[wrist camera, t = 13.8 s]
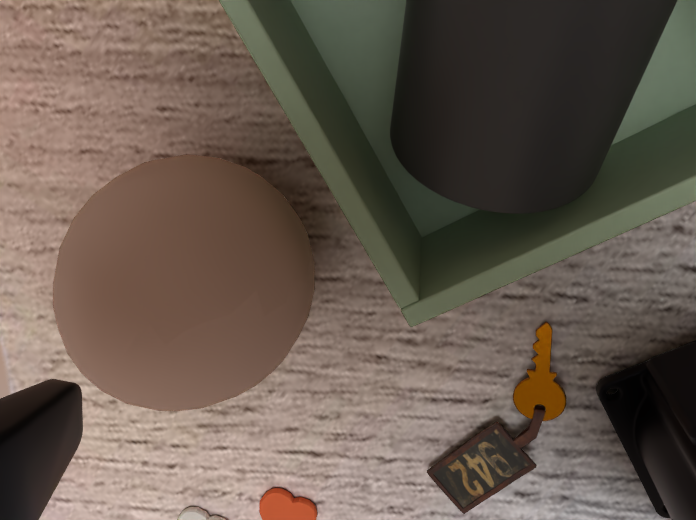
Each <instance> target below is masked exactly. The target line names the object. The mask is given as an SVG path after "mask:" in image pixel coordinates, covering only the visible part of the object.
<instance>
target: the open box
mask: <svg viewBox="0 0 696 520" xmlns="http://www.w3.org/2000/svg"><path fill="white" fill-rule="evenodd" d="M219 1H220V3H221V5H222V7H223V8H224V10H225V12H226V13H227V15H228V17H229V18H230V20H231V22H232V24H233V25H234V27H235V29H236V30H237V32H238V34H239V36H240V37H241V39H242V41H243V42H244V44H245V46H246V47H247V49H248V51H249V53H250V54H251V56H252V58H253V59H254V61H255V63H256V65H257V66H258V68H259V70H260V71H261V73H262V75H263V76H264V78H265V80H266V82H267V83H268V85H269V87H270V88H271V90H272V92H273V94H274V95H275V97H276V99H277V100H278V102H279V104H280V105H281V107H282V109H283V111H284V112H285V114H286V116H287V117H288V119H289V121H290V123H291V124H292V126H293V128H294V129H295V131H296V133H297V135H298V136H299V138H300V140H301V141H302V143H303V145H304V146H305V148H306V150H307V152H308V153H309V155H310V157H311V158H312V160H313V162H314V164H315V165H316V167H317V169H318V170H319V172H320V174H321V175H322V177H323V179H324V181H325V182H326V184H327V186H328V187H329V189H330V191H331V193H332V194H333V196H334V198H335V199H336V201H337V203H338V204H339V206H340V208H341V210H342V211H343V213H344V215H345V216H346V218H347V220H348V222H349V223H350V225H351V227H352V228H353V230H354V232H355V233H356V235H357V237H358V239H359V240H360V242H361V244H362V245H363V247H364V249H365V251H366V252H367V254H368V256H369V257H370V259H371V261H372V262H373V264H374V266H375V268H376V269H377V271H378V273H379V274H380V276H381V278H382V280H383V281H384V283H385V285H386V286H387V288H388V290H389V291H390V293H391V295H392V297H393V298H394V300H395V302H396V303H397V305H398V307H399V308H400V309H401V312H402V314H403V315H404V317H405V319H406V320H407V322H408V324H409V325H410V326H411V327H413V326H416V325H418V324H420V323H422V322H425V321H427V320H429V319H431V318H434V317H436V316H438V315H440V314H443V313H445V312H447V311H449V310H452V309H454V308H456V307H458V306H460V305H463V304H465V303H467V302H469V301H472V300H474V299H476V298H478V297H481V296H483V295H485V294H487V293H490V292H492V291H494V290H496V289H499V288H501V287H503V286H505V285H508V284H510V283H512V282H514V281H517V280H519V279H521V278H523V277H526V276H528V275H530V274H532V273H535V272H537V271H539V270H541V269H544V268H546V267H548V266H550V265H553V264H555V263H557V262H559V261H562V260H564V259H566V258H568V257H571V256H573V255H575V254H577V253H580V252H582V251H584V250H586V249H589V248H591V247H593V246H595V245H598V244H600V243H602V242H604V241H607V240H609V239H611V238H613V237H615V236H618V235H620V234H622V233H624V232H627V231H629V230H631V229H633V228H636V227H638V226H640V225H642V224H645V223H647V222H649V221H651V220H654V219H656V218H658V217H660V216H663V215H665V214H667V213H669V212H672V211H674V210H676V209H678V208H681V207H683V206H685V205H687V204H690V203H692V202H694V201H696V0H677V2H676V5H675V7H674V9H673V11H672V13H671V16H670V18H669V20H668V22H667V24H666V26H665V29H664V31H663V33H662V35H661V37H660V40H659V42H658V44H657V46H656V48H655V50H654V53H653V55H652V57H651V59H650V61H649V64H648V66H647V68H646V70H645V72H644V74H643V77H642V79H641V81H640V83H639V85H638V88H637V90H636V92H635V94H634V96H633V98H632V101H631V103H630V105H629V107H628V109H627V112H626V114H625V116H624V118H623V120H622V122H621V125H620V127H619V129H618V131H617V133H616V136H615V138H614V140H613V142H612V144H611V146H610V149H609V151H608V153H607V155H606V157H605V160H604V162H603V164H602V166H601V168H600V170H599V173H598V175H597V177H596V179H595V181H594V182H593V184H592V185H591V187H590V188H589V189H588V190H587V191H586V192H585V193H584V194H582V195H581V196H580V197H578V198H577V199H576V200H574V201H572V202H570V203H568V204H566V205H563V206H561V207H558V208H555V209H551V210H547V211H543V212H535V213H523V214H511V213H498V212H491V211H485V210H480V209H476V208H472V207H468V206H465V205H462V204H460V203H457V202H454V201H452V200H449V199H447V198H445V197H443V196H441V195H439V194H437V193H435V192H433V191H432V190H430V189H428V188H427V187H425V186H424V185H423V184H421V183H420V182H418V181H417V180H416V179H415V178H414V177H413V176H412V175H410V174H409V173H408V171H407V170H406V169H405V168H404V167H403V166H402V164H401V163H400V161H399V160H398V158H397V157H396V154H395V152H394V150H393V147H392V144H391V139H390V126H391V118H392V110H393V102H394V94H395V86H396V78H397V70H398V62H399V54H400V46H401V39H402V31H403V23H404V15H405V7H406V0H219Z"/></svg>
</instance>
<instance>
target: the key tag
mask: <svg viewBox="0 0 696 520" xmlns="http://www.w3.org/2000/svg"><path fill="white" fill-rule="evenodd" d="M536 336H537V338H538V339H539V340H537V341H536V342H535V343H534V344H533V349H534V350H535V351H536V352H537V353H538V354H537V355H536V356H534V357H533V358H532V359H531V360H532V361H533V362H534V363H535V364H536V368H535V370H533V369H527V373H528V375H529V377H528V378H526V379H524V380H522V381H521V382H520V383H518V385H517V386H516V387H515V390H514V394H513V401H514V404H515V406H516V408H517V409H518V411H519V412H520V413H521V414H523V415H524V416H526V417H527V418H529V419H531V422H530V425H529V426H528V427H527V428H526V429H525V430H523V431H522V432H521V433H520V434H519V435H518V436H517V437H515V438H514V439H513V438H512V437H511V436H510V435H509V434H508V432H507V431H506V430H505V429H504V428H503V426H502V425H501V424H500V423H498V422H495V423H494V424H492V425H491V426H489V427H488V428H486V429H484V430H483V431H481V432H480V433H478V434H477V435H475V436H474V437H472V438H471V439H470V440H468V441H467V442H466V443H464V444H463V445H462V446H460V447H459V448H458V449H456V450H455V451H453V452H452V453H451V454H449V455H448V456H446V457H445V458H444V459H442V460H441V461H439V462H438V463H437V464H435V465H434V466H433V467H431V468H430V469H428V470H427V473H428V475H429V476H430V477H431V478H432V479H433V481H434V482H435V483H436V484H437V485H438V486H439V487H440V489H441V490H442V491H443V492H444V493H445V494H446V495H447V496H448V498H449V499H450V500H451V501H452V502H453V503H454V504H455V505H456V506H457V507H458V509H459V510H460V511H461V512H462V513H463V514H465V513H466V512H468V511H469V510H471V509H472V508H474V507H475V506H477V505H478V504H480V503H481V502H483V501H484V500H486V499H487V498H489V497H491V496H492V495H494V494H495V493H497V492H499V491H500V490H502V489H503V488H505V487H506V486H508V485H509V484H511V483H512V482H514V481H515V480H517V479H518V478H520V477H521V476H523V475H525V474H526V473H528V472H529V471H531V470H533V469H534V468H536V464H535V463H534V462H533V460H532V459H531V458H530V457H529V456H528V455H527V454H526V453H525V452H524V451H523V450H522V449H521V448H522V447H524V446H525V445H527V444H528V443H529V442H531V441H532V440H534V439H535V438H536V437H537V434H538V432H539V429H540V426H541V424H542V421H548V420H552V419H554V418H556V417H558V416H559V415H560V414H561V413H562V412H563V411H564V409H565V407H566V395H565V392H564V390H563V388H562V387H561V386H560V385H559V384H558V383H557V382H555V381H554V380H553V379H554V378H555V377H556V376H557V373H556V372H550V359H551V342H552V328H551V326H550V324H549V323H548V322H545V323H544V324H543V325H541V326H540V327H539V328H538V329H536ZM537 404H541V405H543V406H540V405H537ZM534 406H535V407H534ZM545 408H546V410H545Z"/></svg>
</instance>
